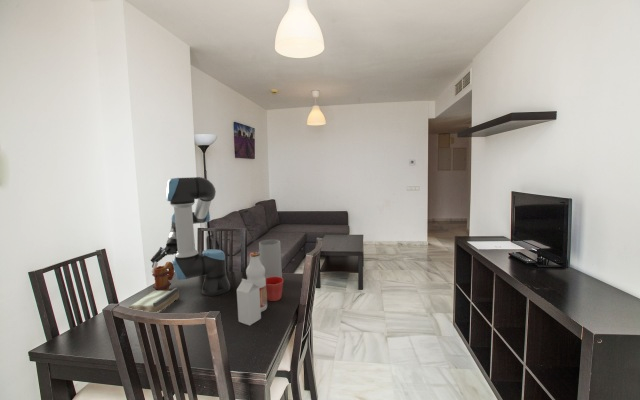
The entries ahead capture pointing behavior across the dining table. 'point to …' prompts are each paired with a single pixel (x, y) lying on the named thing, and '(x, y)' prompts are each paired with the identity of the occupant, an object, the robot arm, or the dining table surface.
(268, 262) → the cylinder vase
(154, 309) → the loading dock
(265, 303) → the fruit juice
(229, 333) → the dining table surface
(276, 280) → the flower pot
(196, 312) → the dining table surface
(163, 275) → the mug
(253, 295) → the milk carton
